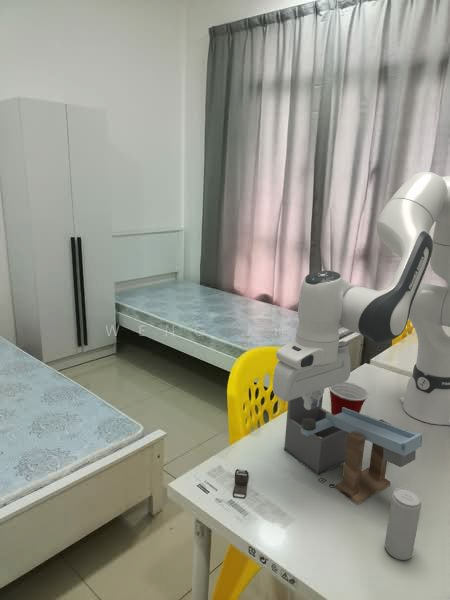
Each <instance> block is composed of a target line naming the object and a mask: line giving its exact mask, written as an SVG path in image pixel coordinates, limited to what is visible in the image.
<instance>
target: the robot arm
mask: <svg viewBox="0 0 450 600" xmlns="http://www.w3.org/2000/svg"><path fill="white" fill-rule="evenodd" d="M376 221H377V222H376V232H377V234H378V237H379V239H380V241H381V242H382V244H383V245H385V246H386V248H388V250H390V251H391V252H392V253H394V254H396V255H397V256H399V257H400V259H401V260H400V262H399V264H398V266H397V269H396V271H395V273H394V276H393V278H392V279H391V282H390V284H389V286H388V287H387V288H385V289H383V290H376V289H372V288H369V287H368V288H367V287H364V286H361V285H358V284H354V283H352V282H349V281H347V280H345V279H344V278H343V276H342V275H341V274H340V273H339V272H338V271H337V272H336V271H335V270H334V271H333V270H316V271H312V272H311V273H309V274H307V275H305V277H304V278H303V281H302V284H301V287H300V292H299V298H298V305H297V317H298V326H297V328H296V333H295V337H293V338H292V339H291V340H290V341H288V342H287V343H286V344H285V345H283V346H281V347H280V348H278V349H277V350H276V354H275V358H276V359H277V360H278V362H276V365H275V367H274V371H273V379H272V381H273V382H272V392H273V394H274V395H275V397H277V398H278V399H280V400H281V401H283V402H285V403H288V401H290V400H293V399H296V398H298V397H301V396H302V398H303V400H304V408H306V409H307V410H310V409H313V408H315V407H318V406H319V400H320V399H321V397H322V395H323V396H324V393H325V389H327V388H329V387H330V386H333V385H336V384H339V383H342V382H345V381H347V382H348V380H349V378H350V376H351V355H350V345H349V344H348V342H346V341H344V340H342V341H340V332H339V331H340V329H342V328H343V329H346V330H348V331H350V332H354V333H356V334H359V335H361V336H363V337H365V338H367V339H368V340H371V341H373V342H375V343H378V344H385V343H386V344H387V343H388V342H391V341H394V340H395V339H397V338H398V337H399V336H401V335H402V334H403V333H404V331H406V330H405V329H406V328H407V325H408V321H410V323H411V325H412V327H413V328H414V330H415V331H414V332H415V334H416V337H417V353H416V361H415V362H416V363H415V364H414V366H413V369H412V377H410V378H409V379H408V381H407V383H406V387H405V393H404V396H400V398H399V401H400V402H401V404H402V408H403V410H404V412H405V413H406V414H407V415H409V416H410V417H411V418H414V419H416V420H418V421H421V422H423V423H424V422H425V423H427V424H431V425H442V426H443V425H444V426H450V336H449V335H448V334H447V333H446V332H445V330H444V328H443V326H444V327H449V328H450V175H446V176H441V175H439V174H437V173H435V172H431V171H419V172H416V173H414V174H413V175H412V176H410V177H409V178H408V179H407V180H406V181H405V182H404V183H403V184H402V185H401V186H400V187H399V188H398V189H397V190H396V192H395V193H393V195H392V196H391V198H390V199H389V201H388V202H387V203H386V205H385V206H384V207H383V209H382V210H381V212H380V214H379V216H378V219H377V220H376ZM433 226H434V229H433V232H432V233H433V234H432V236H431V235H430V231H431V229H432V227H433ZM429 264H430V268H431V270H432V271H433V273H434V274H435V275H436V276H438V277H439V278H441V279H443V281H445V282H446V283H447V285H448V286H449V287H448V286H440V285H436V284H429V283H422V280H423V278H424V276H425V273H426V272H427V268H428V266H429ZM312 393H313V395H312ZM311 396H312V397H311ZM310 397H311V398H310Z"/></svg>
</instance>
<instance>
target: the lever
mask: <svg viewBox="0 0 450 600" xmlns="http://www.w3.org/2000/svg"><path fill="white" fill-rule="evenodd" d="M379 420H380V419H376V418H373V417H371V416H368V415H365V414H364V413H361V412H360V413H358V412H355V411H352V410H349V409H347V408H344V407H342V413H339V414H337V415H334V416H332V415H330V414H327V413H326V418H325V419H323V420H320V421H318V422H316V420H315V419H312V418H304V419H302V428H301V433H302V434H304V435H306V436H309V435H312V434H314V433H317V432H319V431H322V430H324V429H327V428H329V427H331V426H335V427H337V428H339V429H342V430H344V431H346V432H349V433H351V432H353V431H354V432H356V433H358V434H359V435H361V436H363V437H365V441H368V442H369V443H370V442H371V443H372V444H373V443H375V444H377V445H379V446H382V447H383V460H385V461H387V463H390V464H392V465H395V466H397V467H399V468H403V467H404V466H406V465H408V464H410V463H412V462H413V461H416V457H417V456H416V455H417V454H416V453H417V452H416V450H418V449H419V448H422V447H423V434H422V433H419V432H418V433H414V432H412V431H408V430H407V429H403V428H401V427H398V426H395V425H392V424H391V423H389V424H387V423H388V422H387V423H385V422H386V421H385V422H382V421H379ZM390 424H391V425H390Z"/></svg>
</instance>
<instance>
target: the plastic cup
mask: <svg viewBox="0 0 450 600" xmlns="http://www.w3.org/2000/svg"><path fill="white" fill-rule="evenodd" d="M328 390H329V398H330V411H331V412H330V413H331V414H333V415H337V414H339V413H342V407H344V408H347V409H349V410H352V411H355V412H358V413H360V414H361V411H362V407H363V405H364V403H366V402H365V401H366V400H367V399H369V395H370V394H369V392H368V390H367V389H365V388H364V387H363V386H361V385H359V384H356V383H353V382H351V381H348V380H347V381H345V382H342V383H339V384H336V385H333V386H330V387H328Z"/></svg>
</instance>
